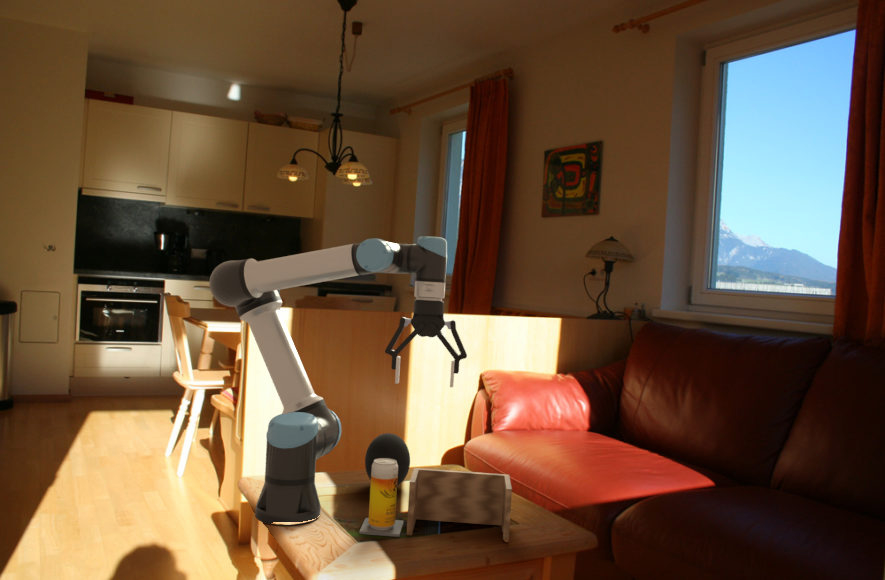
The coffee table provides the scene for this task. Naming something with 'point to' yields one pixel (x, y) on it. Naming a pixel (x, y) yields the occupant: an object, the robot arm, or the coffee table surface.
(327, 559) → the coffee table surface
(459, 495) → the wooden monitor riser
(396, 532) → the slate coaster
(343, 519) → the coffee table surface
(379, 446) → the decorative egg
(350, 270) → the robot arm
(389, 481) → the beer can
